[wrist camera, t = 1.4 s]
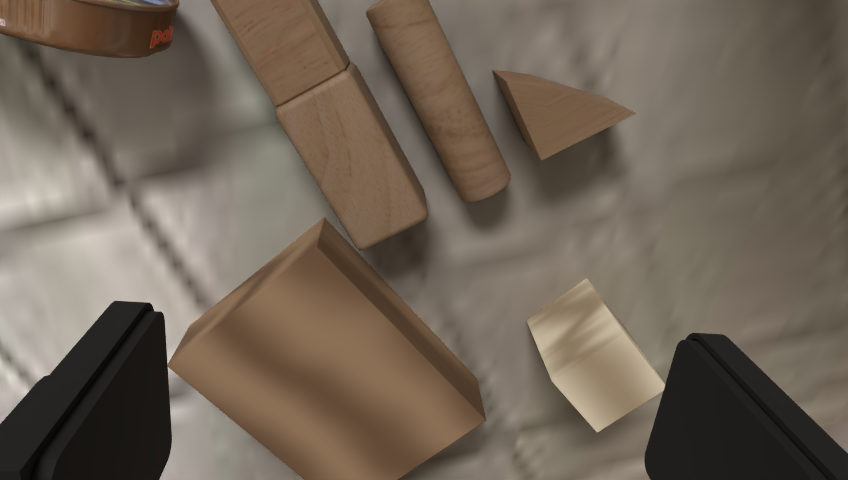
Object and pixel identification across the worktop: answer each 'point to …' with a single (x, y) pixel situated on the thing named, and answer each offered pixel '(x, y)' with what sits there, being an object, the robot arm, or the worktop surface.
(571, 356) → the maple block
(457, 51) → the worktop surface
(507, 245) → the worktop surface
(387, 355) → the walnut block
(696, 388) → the robot arm
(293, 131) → the wooden block set
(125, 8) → the tin
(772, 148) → the worktop surface
